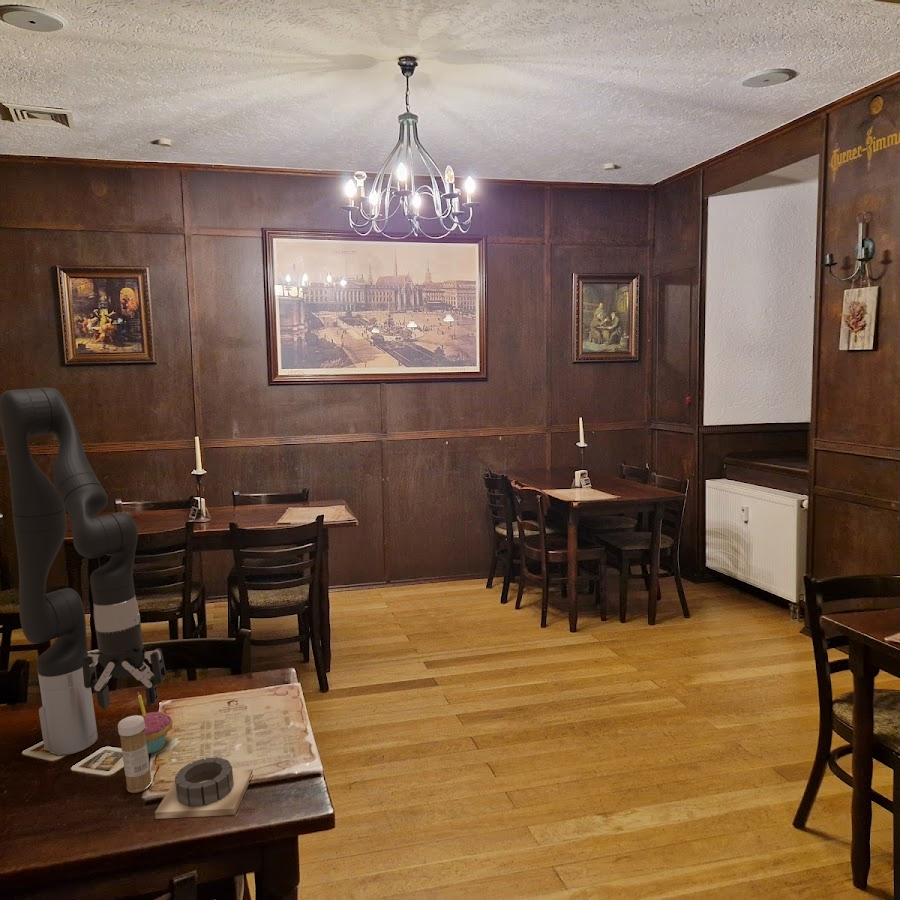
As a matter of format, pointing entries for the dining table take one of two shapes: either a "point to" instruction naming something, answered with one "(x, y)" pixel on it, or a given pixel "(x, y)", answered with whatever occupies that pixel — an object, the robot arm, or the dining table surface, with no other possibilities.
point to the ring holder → (205, 790)
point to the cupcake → (155, 728)
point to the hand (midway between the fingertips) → (129, 705)
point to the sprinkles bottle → (134, 753)
